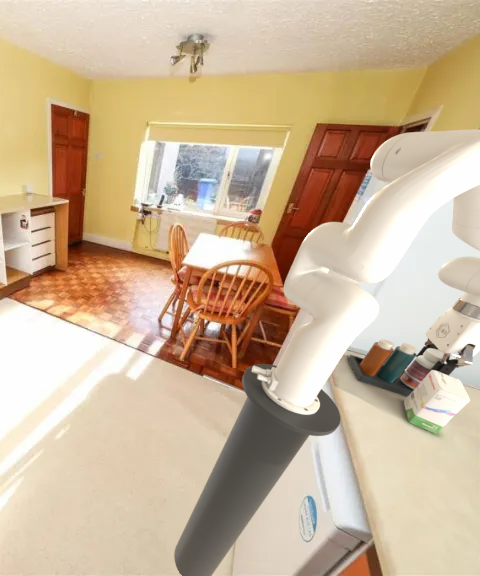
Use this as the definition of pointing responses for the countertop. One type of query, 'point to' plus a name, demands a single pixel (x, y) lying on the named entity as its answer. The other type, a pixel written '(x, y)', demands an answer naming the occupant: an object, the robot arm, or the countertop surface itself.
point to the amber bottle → (376, 357)
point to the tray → (378, 379)
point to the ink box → (435, 401)
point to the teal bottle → (397, 362)
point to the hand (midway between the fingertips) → (430, 366)
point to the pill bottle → (421, 367)
